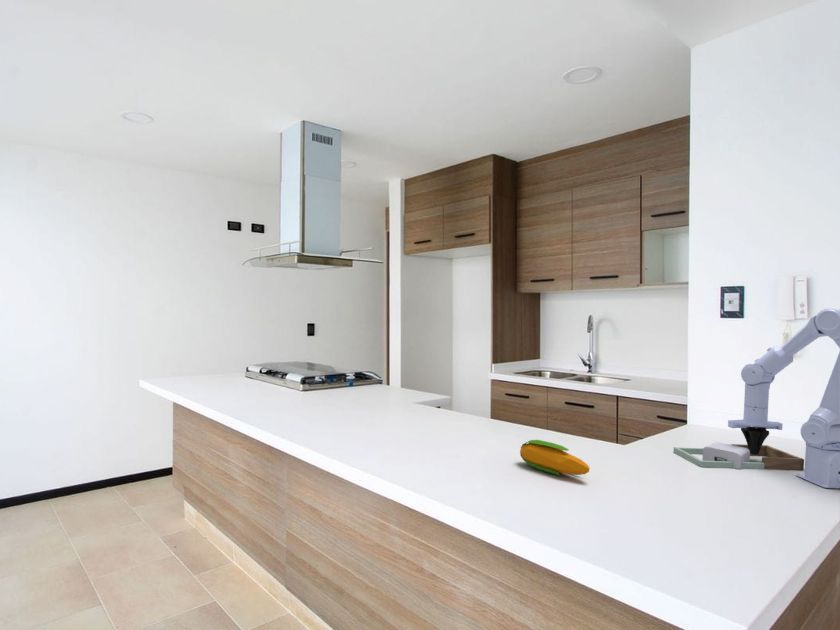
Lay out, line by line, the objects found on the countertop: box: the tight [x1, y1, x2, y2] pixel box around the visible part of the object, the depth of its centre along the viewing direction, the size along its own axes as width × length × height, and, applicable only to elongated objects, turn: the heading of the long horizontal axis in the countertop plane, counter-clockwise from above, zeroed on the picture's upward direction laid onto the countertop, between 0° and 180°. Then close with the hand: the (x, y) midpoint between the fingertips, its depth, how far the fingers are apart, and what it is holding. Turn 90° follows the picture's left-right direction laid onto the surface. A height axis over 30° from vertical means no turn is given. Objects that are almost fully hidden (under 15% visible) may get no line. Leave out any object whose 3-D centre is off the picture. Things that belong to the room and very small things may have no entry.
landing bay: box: [673, 446, 765, 470], centre depth 143 cm, size 14×18×2 cm
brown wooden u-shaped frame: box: [730, 443, 805, 471], centre depth 144 cm, size 14×11×3 cm
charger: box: [701, 441, 751, 470], centre depth 144 cm, size 5×9×15 cm
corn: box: [519, 439, 591, 477], centre depth 127 cm, size 7×8×20 cm
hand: (753, 453), depth 144 cm, fingers closed
